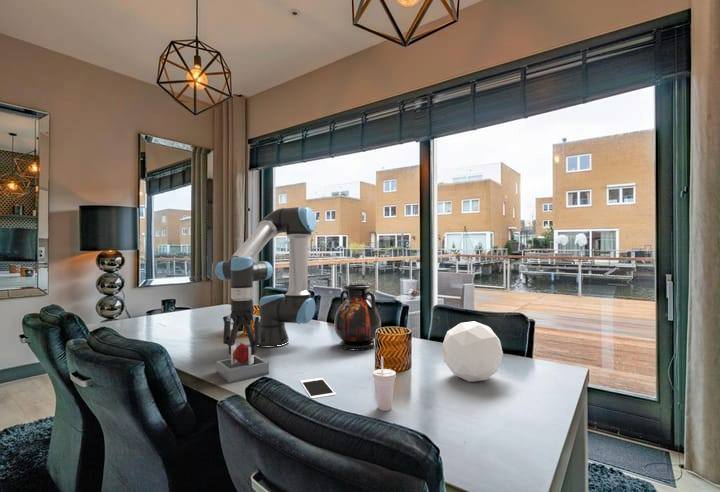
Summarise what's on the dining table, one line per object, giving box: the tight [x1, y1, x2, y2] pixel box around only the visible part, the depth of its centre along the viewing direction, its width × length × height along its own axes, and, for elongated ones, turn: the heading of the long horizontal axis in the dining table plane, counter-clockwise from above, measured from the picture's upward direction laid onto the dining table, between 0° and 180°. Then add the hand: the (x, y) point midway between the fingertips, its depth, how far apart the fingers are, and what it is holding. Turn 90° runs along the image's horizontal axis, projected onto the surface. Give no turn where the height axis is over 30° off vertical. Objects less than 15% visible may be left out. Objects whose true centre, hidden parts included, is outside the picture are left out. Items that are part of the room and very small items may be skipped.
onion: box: [234, 341, 249, 364], centre depth 131 cm, size 6×6×8 cm
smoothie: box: [372, 356, 397, 412], centre depth 100 cm, size 6×6×14 cm
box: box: [215, 354, 270, 384], centre depth 131 cm, size 14×14×4 cm
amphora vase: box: [333, 283, 382, 351], centre depth 167 cm, size 22×22×28 cm
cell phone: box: [299, 377, 337, 400], centre depth 116 cm, size 8×16×1 cm, turn 21°
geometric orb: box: [441, 320, 504, 383], centre depth 122 cm, size 19×20×20 cm
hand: (242, 363), depth 131 cm, fingers closed on onion, 6 cm apart
